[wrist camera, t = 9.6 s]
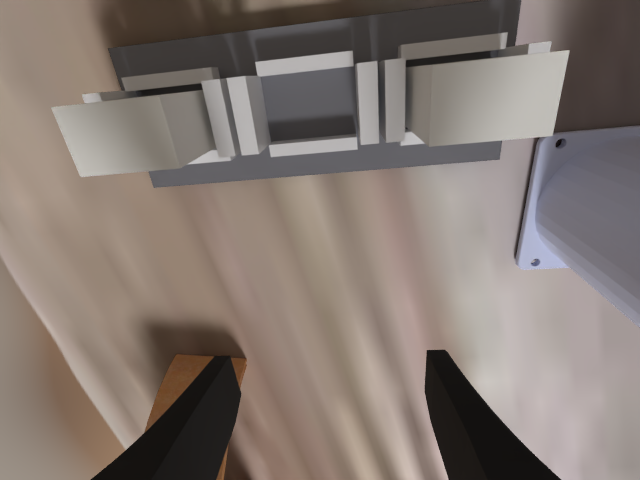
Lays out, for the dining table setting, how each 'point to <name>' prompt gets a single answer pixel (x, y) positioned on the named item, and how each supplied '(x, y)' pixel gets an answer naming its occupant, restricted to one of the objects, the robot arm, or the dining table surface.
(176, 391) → the arch
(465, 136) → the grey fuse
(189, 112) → the block
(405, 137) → the fuse block
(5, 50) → the dining table surface
